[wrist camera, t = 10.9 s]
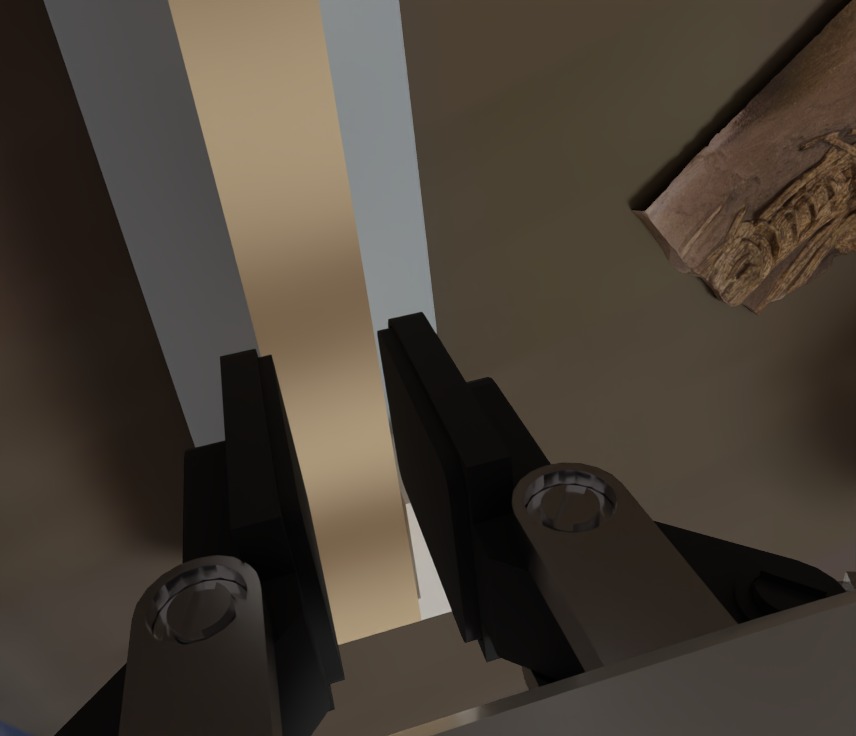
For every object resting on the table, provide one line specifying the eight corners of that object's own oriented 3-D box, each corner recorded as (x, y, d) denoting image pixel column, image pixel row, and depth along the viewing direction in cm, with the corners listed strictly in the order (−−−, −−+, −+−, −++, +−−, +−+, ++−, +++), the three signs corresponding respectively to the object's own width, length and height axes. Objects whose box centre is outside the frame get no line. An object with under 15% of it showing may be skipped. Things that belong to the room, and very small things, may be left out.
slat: (116, -252, 15) (77, -347, 10) (237, -261, 15) (259, -358, 10) (307, 505, 25) (336, 645, 20) (376, 486, 26) (421, 620, 21)
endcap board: (-108, -478, 13) (-226, -641, 10) (331, -491, 15) (378, -637, 11) (244, 579, 27) (253, 680, 24) (452, 522, 29) (491, 609, 25)
